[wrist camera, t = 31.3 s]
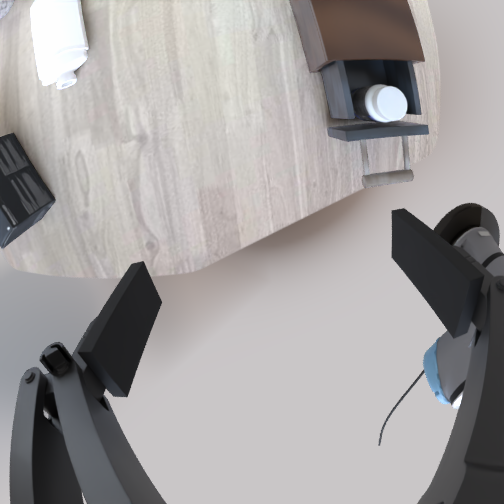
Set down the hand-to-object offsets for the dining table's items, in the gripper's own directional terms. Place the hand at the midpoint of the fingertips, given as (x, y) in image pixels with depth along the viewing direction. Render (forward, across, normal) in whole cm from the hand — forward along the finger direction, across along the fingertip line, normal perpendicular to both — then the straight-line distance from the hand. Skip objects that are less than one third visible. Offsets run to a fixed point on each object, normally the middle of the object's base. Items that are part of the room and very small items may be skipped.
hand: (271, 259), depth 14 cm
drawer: (+26, +16, +6) cm, 31 cm away
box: (+27, -40, +11) cm, 49 cm away
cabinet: (+27, +16, +19) cm, 36 cm away
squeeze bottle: (+27, -24, +31) cm, 48 cm away
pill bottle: (+25, +16, +6) cm, 30 cm away
